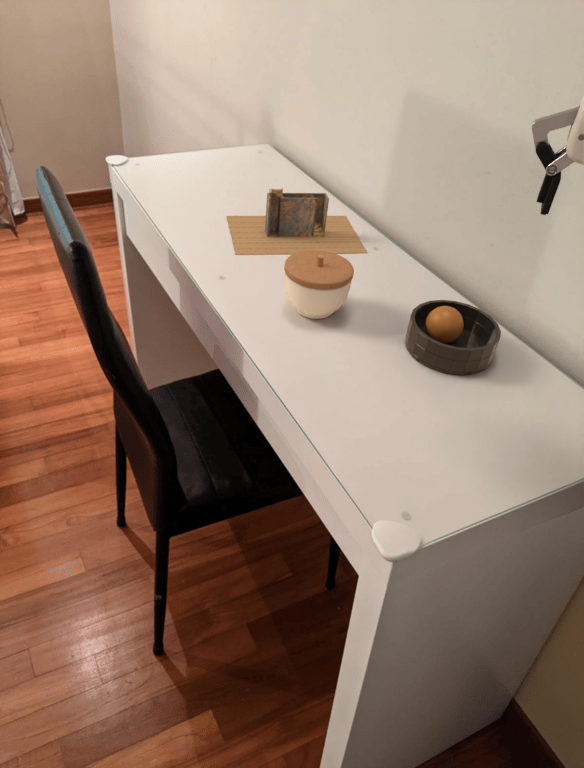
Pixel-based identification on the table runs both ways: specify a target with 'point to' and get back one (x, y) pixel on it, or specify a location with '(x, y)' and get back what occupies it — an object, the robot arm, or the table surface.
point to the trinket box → (317, 282)
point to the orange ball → (444, 324)
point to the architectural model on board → (293, 227)
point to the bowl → (464, 352)
